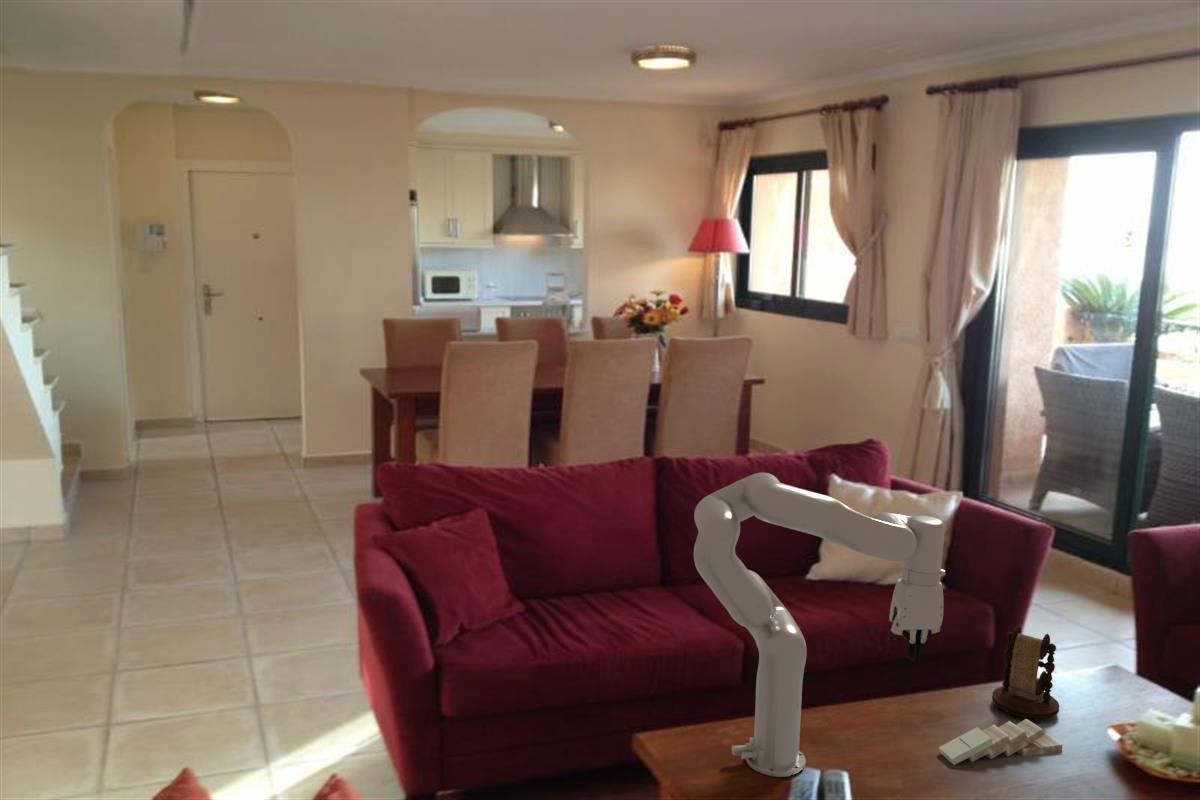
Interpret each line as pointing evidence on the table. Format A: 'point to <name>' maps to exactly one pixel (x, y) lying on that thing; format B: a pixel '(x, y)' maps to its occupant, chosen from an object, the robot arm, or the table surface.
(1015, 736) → the domino
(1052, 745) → the domino
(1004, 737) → the domino
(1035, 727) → the domino
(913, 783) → the table surface
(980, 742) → the domino
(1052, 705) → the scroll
